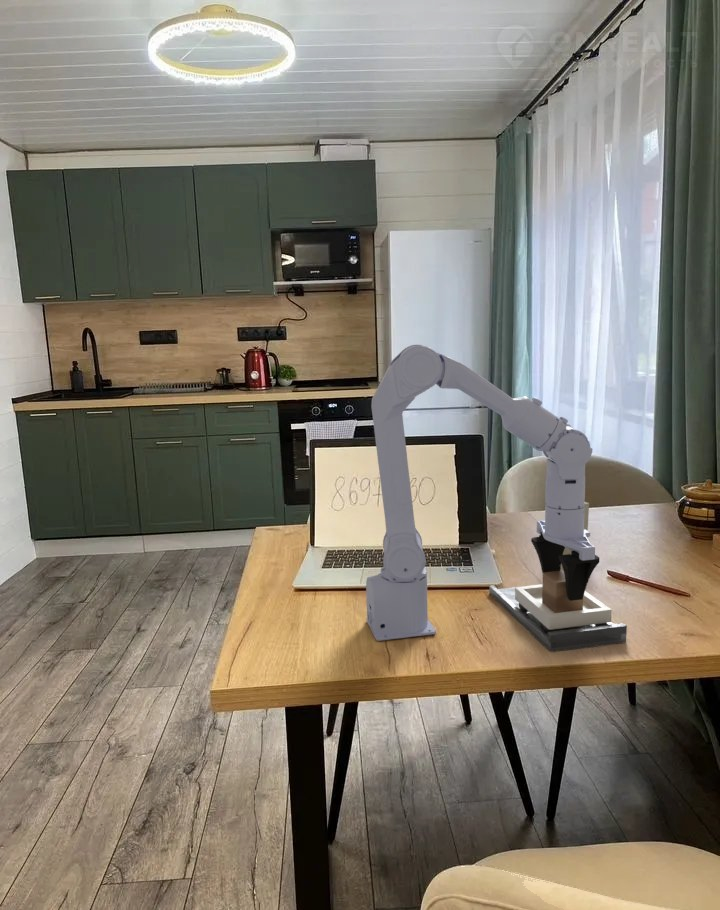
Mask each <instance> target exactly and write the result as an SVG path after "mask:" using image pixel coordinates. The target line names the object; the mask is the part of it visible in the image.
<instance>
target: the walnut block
mask: <svg viewBox="0 0 720 910" xmlns="http://www.w3.org/2000/svg"><path fill="white" fill-rule="evenodd" d="M542 603H543V604H545V605H546V606H547V607H548V608H549V609H551V610H552V611H553V612H554V613H561V612H570V611H578V610H583V599H582V600H573V601H570V600H569V599H568V597H567V593H566V581H565V574H564V570H563V569H562V570H560V571H552V572H543V573H542Z"/></svg>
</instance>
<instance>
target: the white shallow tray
mask: <svg viewBox="0 0 720 910" xmlns="http://www.w3.org/2000/svg"><path fill="white" fill-rule="evenodd" d="M532 585H533V586H530V585H523V586H524V587H521V586H514V587H515V599H516V600H517V601H518V602H519V609H520V610H521V611H522V612H523V613H524V612H530V613H531V614H532V615H533V616H534V617H536V618H537V619H538V620H539V621H540V622H541V623H542V624H541V627H542V630H543V631H544V632H545V633H546V634H548V632H553V629H560V628H568V627H576V626H584V625H592V624H595V626H602V625H606V623H608V622H612V611H613V609H612V608H610V607H608V606H607V605H606V604H604V603H603V602H601V601H600V600H599V599H597V598H596V597H594V596H593V595H592V594H591V593H589V592H588V591H586V590H585V592H584V596H583V610H578V611H570V612H561V613H554V612H553V611H552V610H551V609H549V608H548V607H547V606H546V605H545V604H543V603H542V585H539V584H532Z"/></svg>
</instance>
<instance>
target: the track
mask: <svg viewBox="0 0 720 910" xmlns="http://www.w3.org/2000/svg"><path fill="white" fill-rule="evenodd" d="M533 585H534V584H531V585H529V586H533ZM538 585H542V584H541V583H540V584H538ZM524 586H525V585H521V586H520V587H524ZM515 587H516V586H513V587H506V588H505V587H504V588H497V587H496V586H495V585H494V584H492V585H489V587H488V588H489V591H488V592H489V594H490V595H491V596H492V597H493V598H494V599H495V601H497V602H498V603H499V605H501V606H502V607H503V608H504V609H505V610H507V612H508V613H509V614H510V615H511V616H512V617H513V618H514V619H516V621H518V622H519V623H520V624H521V626H523V628H525V629H526V630H527V631H528V632H529V633H530V634H531V635H532V636H533V637H534V638H535V639H536V640H537V641H538V642H540V644H542V646H543V647H544V648H546V649H547V650H548V651H549V652H550V653H555V652H561V651H571V650H578V649H584V648H591V647H592V648H593V647H600V646H601V645H602V646H607V645H609V646H610V645H616V644H617V645H618V644H623V642H625V643H627V633H628V631H627V630H628V625H627V624H625V623H624V622H621V623H613V622H612V621H611V622H608V623H606V625H602V626H595V624H592V625H584V626H576V627H568V628H560V629H553V632H548V634H546V633H545V632H544V631H543V630H542V627H541V624H542V623H541V622H540V621H539V620H538V619H537V618H536V617H534V616H533V615H532V614H531V613H530V612H524V613H523V612H522V611H521V610H520V609H519V602H518V601H517V600H516V599H515Z"/></svg>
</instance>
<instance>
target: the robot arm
mask: <svg viewBox="0 0 720 910" xmlns="http://www.w3.org/2000/svg"><path fill="white" fill-rule="evenodd" d="M435 385H437V386H438V387H439V388H440V389H447V390H448V389H449V390H450V389H451V390H460V391H461V392H462V393H464V394H466V395H467V396H469V397H471V398H472V399H474V400H476V401H477V402H479V403H480V404H482V405H484V406H486V408H488V409H490V410H492V411H493V412H495V413H496V414H499V415H500V417H501V420H502V421H501V422H502V427H503V429H505V430H506V431H507V432H509V433H510V434H512V435H513V436H515V437H517V438H518V439H520V440H521V441H522V442H525V443H526V444H527V445H529V446H530V447H531V448H533V449H535V450H537V451H539V452H542V454H543V455H544V456H545V457H546V458H547V459H546V474H545V499H544V500H545V502H544V503H545V505H544V509H545V510H544V520H537V521H536V533H538V534H539V535H538V536H534V537H532V538H531V539H530V541H531V544H532V545H533V547H534V550H535V551H536V552H535V553H536V554H537V557H538V561H539V563H540V568H541V572H542V574H543V572H552V571H561V566H562V570H564V574H565V581H566V593H567V597H568V599H569V600H570V601H573V600H582V599H583V596H584V592H585V591H586V588H587V586H588V582H589V579H590V578H591V576H592V573H593V572H594V570H595V568H596V567H597V566H598V565H599V564H600V557H599V556H598V555H597V554H596V546H594V545H593V544H592V543H591V542H590V540H589V539H588V538H590V537H591V532H590V531H589V530H588V531H587V530H585V529H584V506H585V502H586V501H585V500H586V464H587V463H588V462H589V460H590V459H591V457H592V453H593V448H592V447H591V443H590V441H589V440H588V437H587V435H585V433H583V432H582V431H581V430H577V429H576V428H574V427H572V426H571V425H570V424H568V422H569V420H568V419H567V418H565V417H564V416H560V417H559V416H557V415H555V414H554V413H552V411H551V412H550V411H549V410H547V409H546V408H545V407H543V406H542V404H543V401H542V400H540V399H538V398H537V397H535V396H534V397H532V398H529V397H528V396H525V395H524V396H519V397H516V398H515V397H514V398H513V397H511V396H510V395H509V394H507V393H506V392H504V391H503V390H501V389H500V388H499V387H497V386H496V385H494V384H493V383H491V382H490V381H488V380H487V379H486V378H484V377H483V376H482V375H480V374H479V373H477V372H475V371H474V370H473V369H471V368H470V367H468V366H467V365H465V363H462V362H460V361H458V360H456V359H453V358H451V357H449V356H447V355H444V354H442V353H440V352H436V351H435V350H434V349H433V348H431V347H429V346H427V345H422V344H411V345H409V346H407V347H404V349H403V350H401V351H400V352H399V353H398V354H397V356H395V357H394V358H393V359H392V360H391V361H390V363H389V365H388V367H387V369H386V371H385V373H384V375H383V377H382V379H381V380H380V382H379V385H378V386H377V389H376V390H375V392H374V394H373V395H372V398H371V413H372V422H373V430H374V438H375V447H376V455H377V464H378V471H379V480H380V488H381V495H382V505H383V513H384V514H383V515H384V521H385V534H384V536H383V539H382V546H383V557H382V560H383V561H382V562H383V566H381V568H380V573H378V574H375V575H371V576H368V577H367V578H366V581H365V591H366V593H365V596H366V622H367V625H368V627H369V629H370V630H371V633H372V634H373V637H374V639H375V640H376V641H379V642H380V641H387V640H397V639H405V638H413V637H421V636H430V635H435V634H437V629H436V628H435V627H434V626H433V624H432V622H431V621H430V620H429V619H428V612H429V611H428V570H427V569H428V568H426V561H427V560H426V555H425V554H426V553H425V552H424V549H423V540H422V539H423V538H422V536H421V534H420V533H419V531H418V529H417V528H416V522H415V521H416V520H415V515H414V508H413V507H414V506H413V505H414V504H413V496H412V488H411V479H410V471H409V469H410V468H409V462H408V461H409V460H408V454H407V453H408V452H407V446H406V436H405V427H404V417H403V414H404V411H405V410H406V409H407V408H408V407H409V405H410V404H411V403H412V402H413V401H414V400H415V398H416V397H417V396H419V395H421V394H423V393H425V392H426V391H427V390H429V389H431V388H433V387H434V386H435ZM565 547H566V548H567V549H569V550H571V554H567V555H563V552H564V549H565Z"/></svg>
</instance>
